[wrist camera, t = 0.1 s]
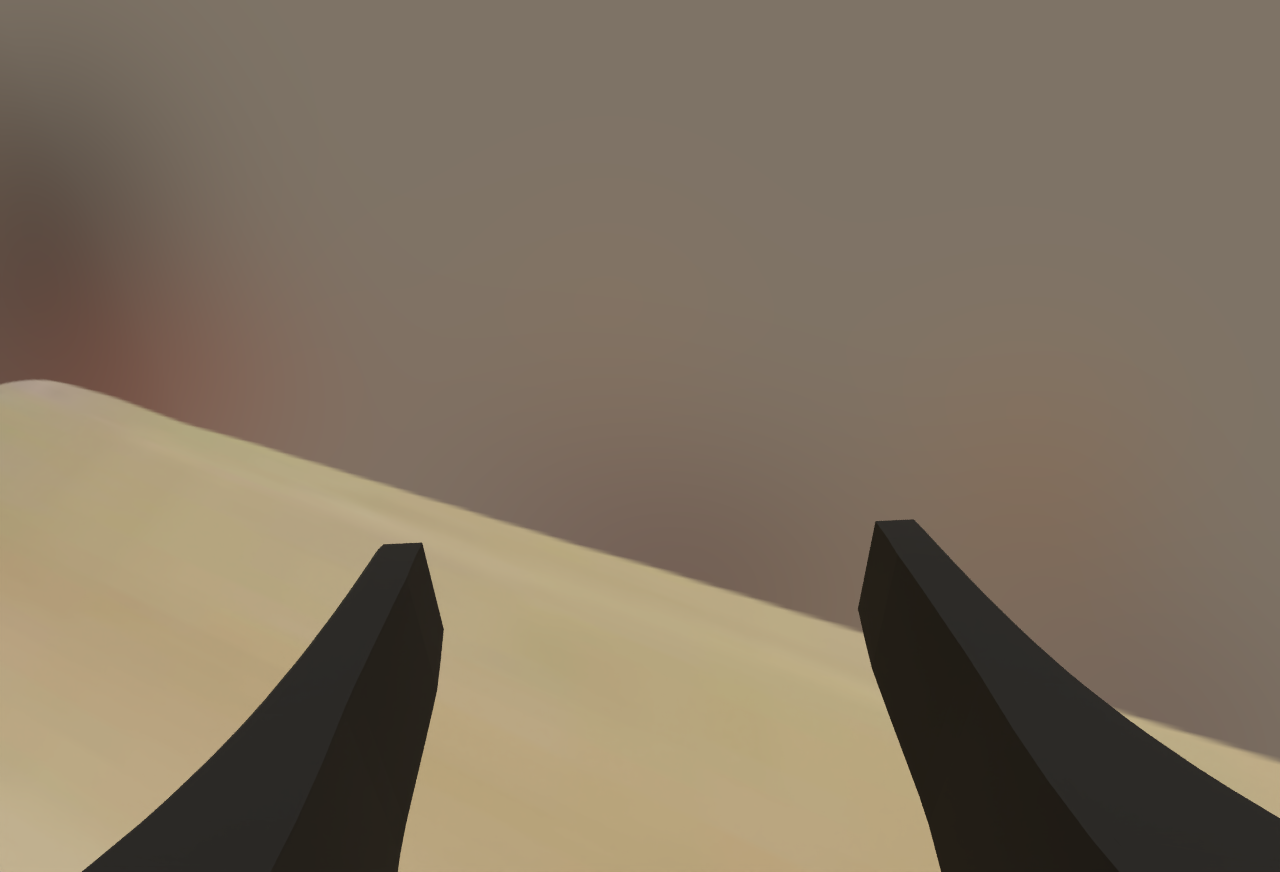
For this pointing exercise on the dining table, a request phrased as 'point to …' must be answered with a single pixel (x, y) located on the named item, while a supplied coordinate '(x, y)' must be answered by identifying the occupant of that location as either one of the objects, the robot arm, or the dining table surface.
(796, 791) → the dining table surface
